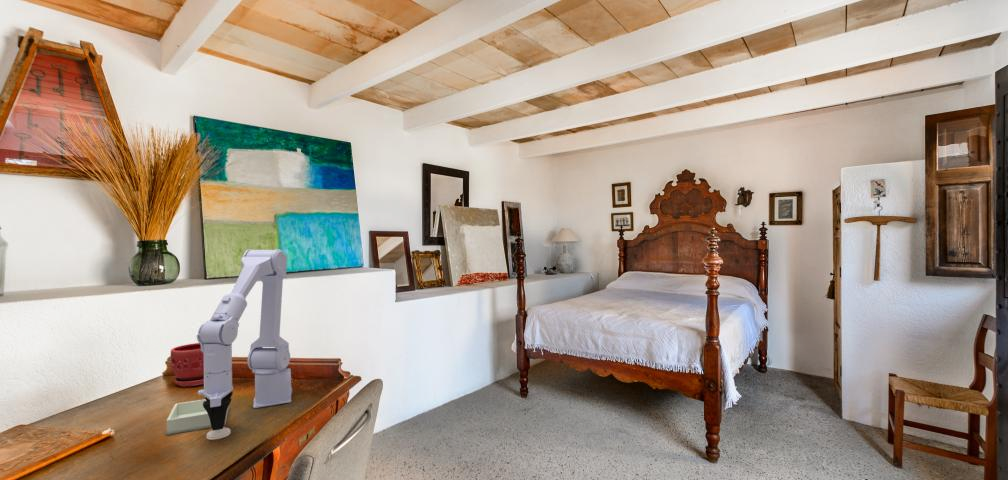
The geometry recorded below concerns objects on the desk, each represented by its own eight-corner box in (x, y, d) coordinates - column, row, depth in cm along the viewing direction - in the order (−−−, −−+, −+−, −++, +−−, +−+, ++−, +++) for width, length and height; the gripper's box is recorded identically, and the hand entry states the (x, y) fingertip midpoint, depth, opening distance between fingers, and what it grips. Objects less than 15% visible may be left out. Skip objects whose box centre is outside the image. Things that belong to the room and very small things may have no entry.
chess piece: (218, 440, 104) (218, 398, 104) (201, 438, 105) (200, 396, 105) (235, 431, 109) (235, 390, 109) (218, 429, 110) (218, 389, 110)
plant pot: (229, 376, 151) (228, 341, 151) (197, 390, 138) (197, 351, 138) (194, 374, 152) (194, 340, 152) (160, 388, 139) (159, 350, 139)
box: (228, 408, 123) (228, 395, 123) (225, 425, 112) (225, 410, 112) (175, 417, 117) (175, 403, 117) (166, 435, 107) (166, 420, 106)
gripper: (201, 364, 111) (202, 418, 111) (193, 381, 98) (194, 442, 98) (234, 361, 114) (235, 413, 115) (231, 376, 102) (231, 435, 102)
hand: (218, 426), depth 107 cm, fingers open, 3 cm apart
